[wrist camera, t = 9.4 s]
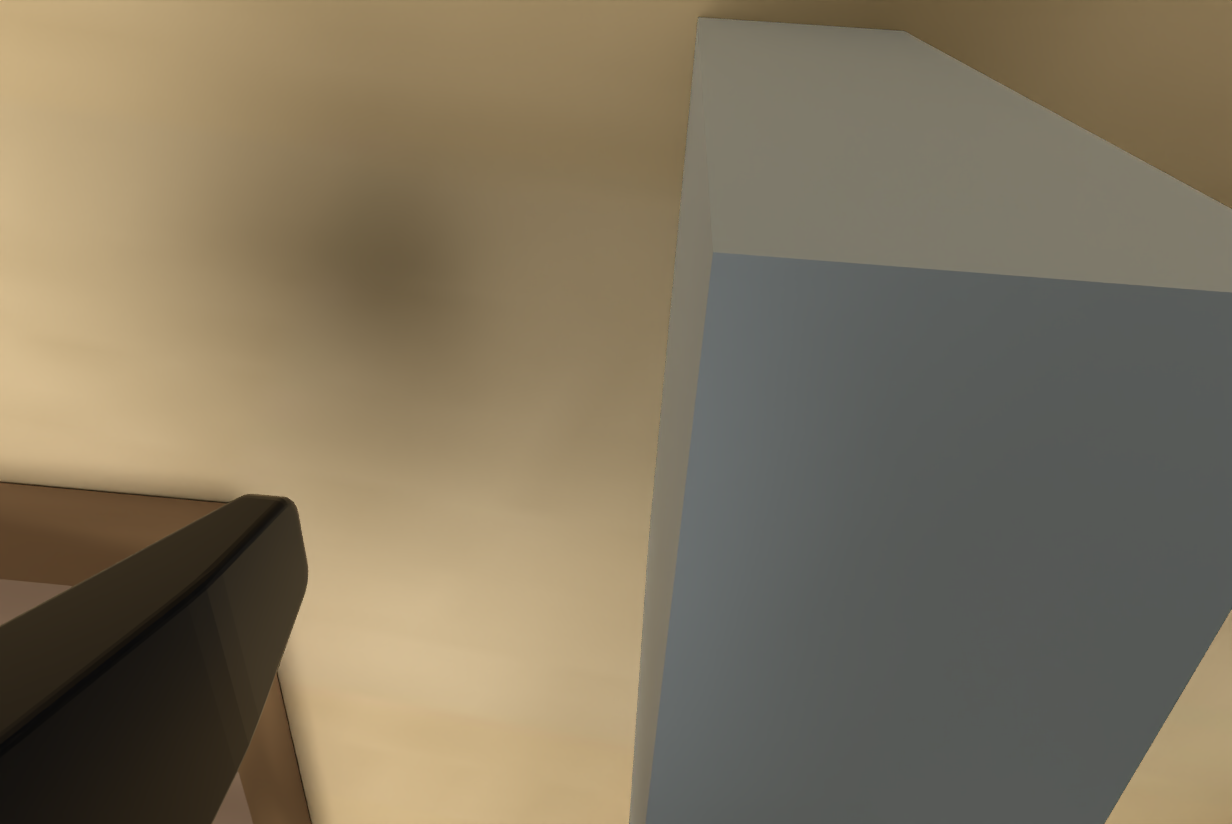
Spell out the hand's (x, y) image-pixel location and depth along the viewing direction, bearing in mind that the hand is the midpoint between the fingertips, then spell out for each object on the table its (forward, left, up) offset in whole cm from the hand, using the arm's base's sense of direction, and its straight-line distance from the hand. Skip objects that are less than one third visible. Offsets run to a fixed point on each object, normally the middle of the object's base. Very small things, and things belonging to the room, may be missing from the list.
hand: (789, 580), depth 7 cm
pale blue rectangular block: (0, 0, -5) cm, 5 cm away
